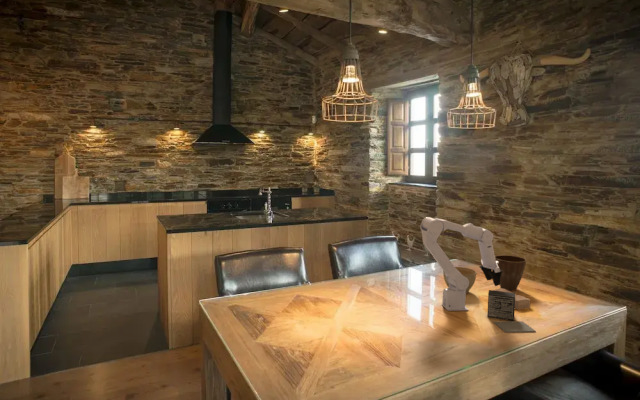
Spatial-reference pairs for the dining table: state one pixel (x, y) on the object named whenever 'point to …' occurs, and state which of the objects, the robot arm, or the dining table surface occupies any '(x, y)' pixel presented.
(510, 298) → the small box
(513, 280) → the plant pot
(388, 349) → the dining table surface
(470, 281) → the planter bowl
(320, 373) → the dining table surface
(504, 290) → the brick
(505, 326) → the mat
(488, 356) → the dining table surface
